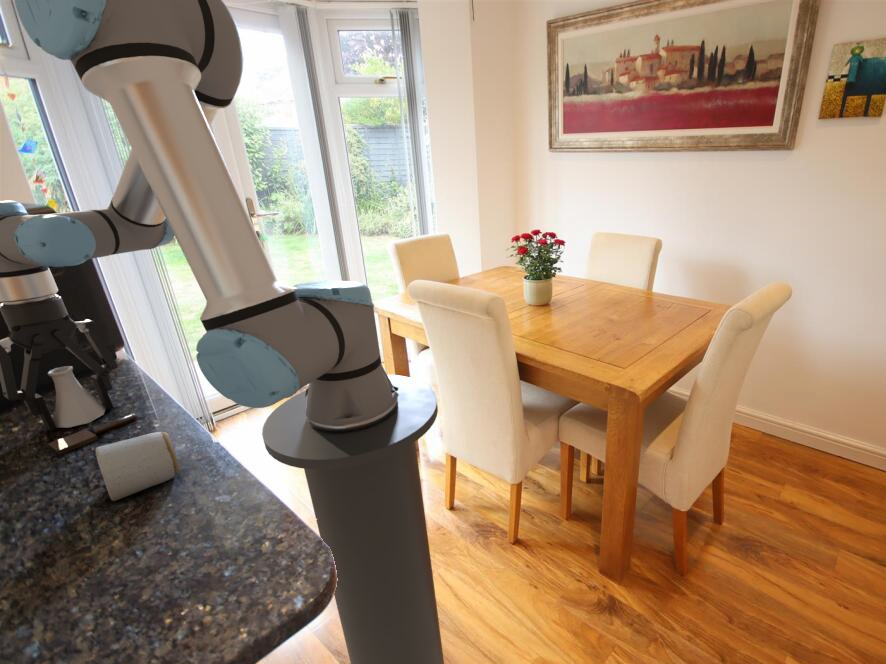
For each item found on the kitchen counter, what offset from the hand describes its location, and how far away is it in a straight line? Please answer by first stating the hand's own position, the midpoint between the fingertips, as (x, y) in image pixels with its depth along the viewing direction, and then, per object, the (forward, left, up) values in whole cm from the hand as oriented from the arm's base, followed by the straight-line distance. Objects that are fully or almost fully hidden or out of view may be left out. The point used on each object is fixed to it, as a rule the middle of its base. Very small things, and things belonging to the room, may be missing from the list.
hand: (80, 417), depth 85 cm
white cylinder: (+3, +32, 0) cm, 32 cm away
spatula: (+1, +10, 0) cm, 10 cm away
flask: (0, 0, 0) cm, 0 cm away
